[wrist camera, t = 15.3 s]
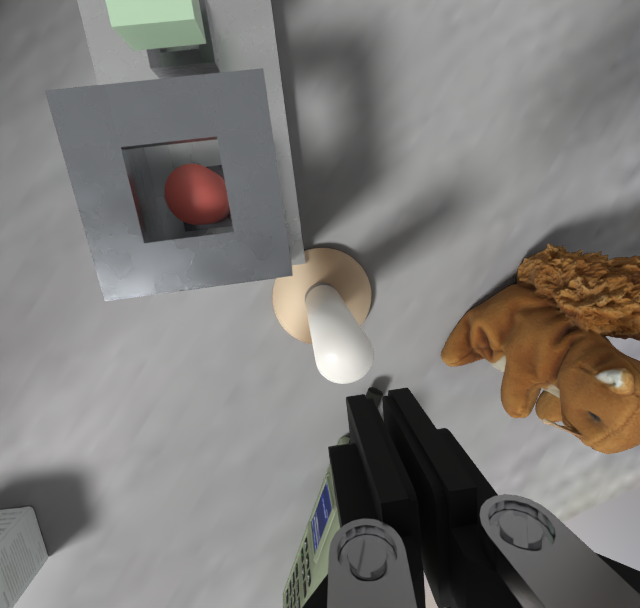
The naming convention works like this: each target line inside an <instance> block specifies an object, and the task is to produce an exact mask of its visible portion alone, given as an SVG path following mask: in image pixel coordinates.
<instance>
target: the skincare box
mask: <svg viewBox="0 0 640 608" xmlns="http://www.w3.org/2000/svg"><path fill="white" fill-rule="evenodd" d="M47 559H48V555H47V551H46V548H45V545H44V541H43V538H42V535H41V532H40V528H39V525H38V522H37V519H36V515H35V513H34V510H33V508H32V507H22V508H13V509H3V510H0V608H13V606H14V605H15V603H16V602H17V601H18V599H19V598H20V596H21V595H22V594H23V592H24V591H25V590H26V588H27V587H28V585H29V584H30V583H31V581H32V580H33V578H34V577H35V576H36V574H37V573H38V571H39V570H40V569H41V567H42V566H43V565H44V563H45V562H46V560H47Z"/></svg>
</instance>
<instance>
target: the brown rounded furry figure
mask: <svg viewBox="0 0 640 608" xmlns="http://www.w3.org/2000/svg"><path fill="white" fill-rule="evenodd" d="M547 245H548V246H547V248H546V249H545V250H543V251H541V252H538V253H537V254H534V255H532V256H531V257H529V258H524V261H523V262H522V264H520V266H519V267H518V271H517V272H518V273H517V278H516V281H517V284H514V285H510V286H508V287H507V288H505V289H504V290H502V291H500V292H499V293H497V294H496V295H494V296H493V297H491V298H490V299H488V300H486V301H485V302H483V303H482V304H480V305H478V306H476V307H474V308H473V309H471V310H469V311H468V312H467V313H466V314H465V315H464V316H463V317H462V319H461V320H460V321H459V323H458V324H457V325H456V327H455V328H454V330H453V331H452V333H451V334H450V336H449V338H448V340H447V342H446V343H445V346H444V348H443V350H442V352H441V358H442V360H443V361H444V362H445V363H446V364H447V365H448V366H462V365H465V364H468V363H472V362H475V361H477V360H480V359H484V358H485V359H486V360H488V361H489V362H490V363H491V364H492V366H494V367H495V368H496V369H498V370H500V371H502V372H503V373H504V376H503V380H502V386H501V401H502V404H503V407H504V409H505V410H506V412H507V413H508V414H509V415H510V416H511V417H513V418H525V417H527V416H528V415H529V414H530V413H531V411H532V409H533V407H534V405H535V403H536V408H535V410H536V414H537V416H538V417H539V418H540V419H541V420H542V421H543V423H545V424H548V425H552V426H554V427H557V428H560V429H562V430H564V431H567V432H569V433H572V434H573V435H575V436H576V437H577V438H579V439H580V440H581V441H582V442H583V443H584V444H585V445H587V446H590V447H592V449H594V450H597V451H600V452H602V453H606V454H611V453H618V452H622V451H625V450H628V449H631V448H633V447H635V446H637V445H639V444H640V361H638V360H636V359H633V358H631V357H629V356H627V355H625V354H623V353H622V352H620V351H619V350H617V349H616V348H615V347H614V346H613V345H612V344H611V342H610V341H609V340H608V339H607V338H606V336H610V337H615V338H622V339H627V338H633V339H636V340H639V341H640V256H633V257H630V258H628V257H624V258H623V257H618V258H613V259H610V260H608V255H604V256H601V252H602V251H601V252H599V253H597V254H596V253H595V252H594V253H590V254H588V253H585V254H584V255H581V253H582V252H583V250H580V251H578V252H574V253H573V252H572V253H569V252H566V249H565V247H564V246H562V248H561V247H559V246H557V247H555V246H554V245H550V244H547ZM541 389H543V392H542V393H541V394H540V390H541ZM539 394H540V396H539ZM538 396H539V398H538ZM537 398H538V400H537ZM536 400H537V402H536ZM559 421H563V424H564V426H560V425H557V424H555V423H553V422H559Z"/></svg>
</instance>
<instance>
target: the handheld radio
mask: <svg viewBox="0 0 640 608" xmlns="http://www.w3.org/2000/svg"><path fill="white" fill-rule="evenodd" d="M382 395H383V393H382V392H381V391H380V390H378V389H376V388H369V389H368V391H367V394H366V398H367V399H369V398H373V400H374V402H375V404H376V407H377V408H378V405H379V402H380V400H381V397H382ZM349 443H351V439H350V438H349V437H345V436H344V437H341V438H340V439H339V441H338V444H337V445H343V444H349ZM339 529H340V524H339V518H338V512H337V506H336V499H335V493H334V486H333V479H332V472H331V465H330V466H329V468H328V471H327V474H326V476H325V479H324V482H323V485H322V487H321V490H320V493H319V495H318V498H317V501H316V503H315V506H314V509H313V512H312V514H311V517H310V520H309V522H308V525H307V528H306V531H305V534H304V536H303V539H302V542H301V545H300V548H299V550H298V553H297V556H296V559H295V562H294V564H293V567H292V570H291V573H290V576H289V578H288V581H287V584H286V587H285V590H284V592H283V608H302V607H303V606H304V604H305V603H306V602H307V600H308V599H309V598H310V596H311V595H312V594H313V592H314V591H315V590H316V588H317V587H318V586H319V585H320V583H321V582H322V581H323V579H324V578H325V577H326V575H327V574H328V561H329V549H330V543H331V541H332V539H333V537H334V535H335V534H336V532H337V531H338V530H339Z"/></svg>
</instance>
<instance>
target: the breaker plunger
mask: <svg viewBox="0 0 640 608" xmlns="http://www.w3.org/2000/svg"><path fill="white" fill-rule="evenodd" d="M164 193H165V200H166V203H167V205H168V207H169V209H170V210H171V212H172V213H173V214H174V215H175V216H176V217H177V218H178V219H180V220H181V221H183V222H185V223H188V224H192V225H203V224H214V223H217V222H219V221H221V220H223V219H224V218H225V217H226V216H227V215H228V214H229V212H230V207H229V202H228V196H227V190H226V185H225V179H223V178H222V177H221V176H220V175H218V174H217V173H215V172H213V171H212V170H210V169H208V168H207V167H205V166H202V165H198V164H185V165H182V166H180V167H178V168H176V169H175V170H174V171H173V172H172V173H171V174H170V175H169V177H168V178H167V181H166V184H165V190H164Z"/></svg>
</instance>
